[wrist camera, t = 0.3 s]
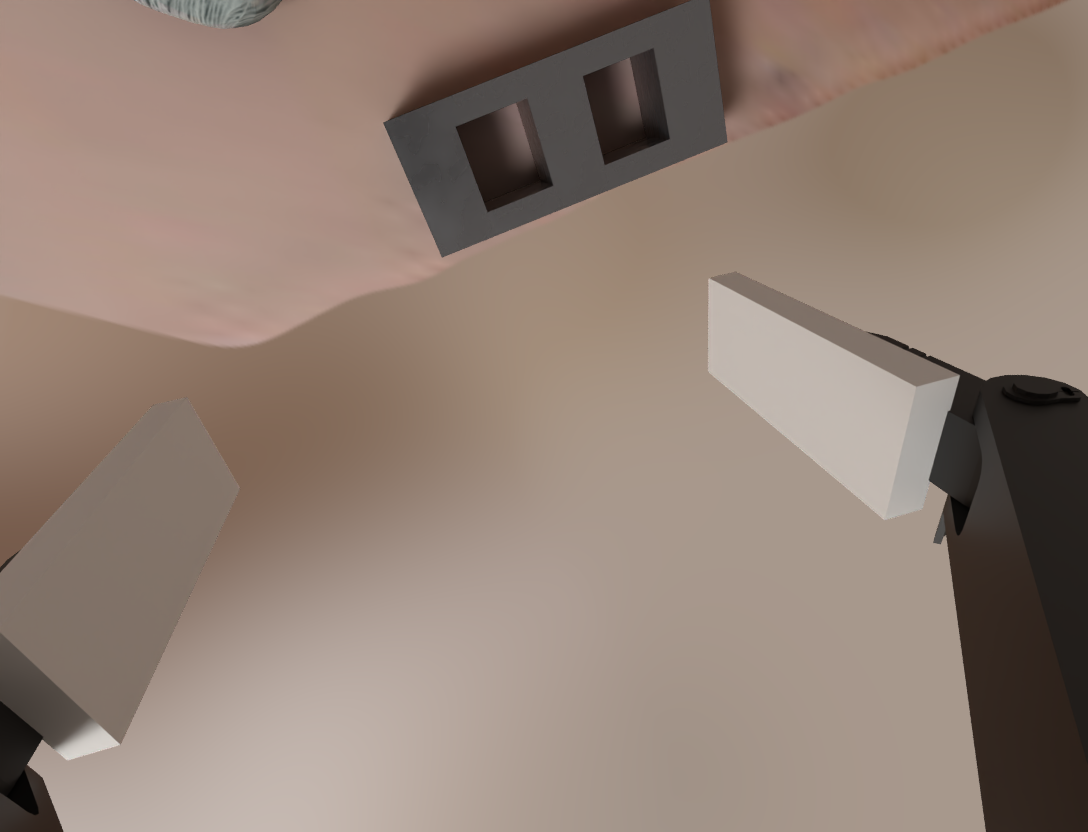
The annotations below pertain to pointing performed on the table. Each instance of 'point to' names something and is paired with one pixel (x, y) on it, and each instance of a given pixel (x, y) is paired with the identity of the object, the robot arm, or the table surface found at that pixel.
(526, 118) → the cinder block
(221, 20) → the spool
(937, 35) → the table surface
